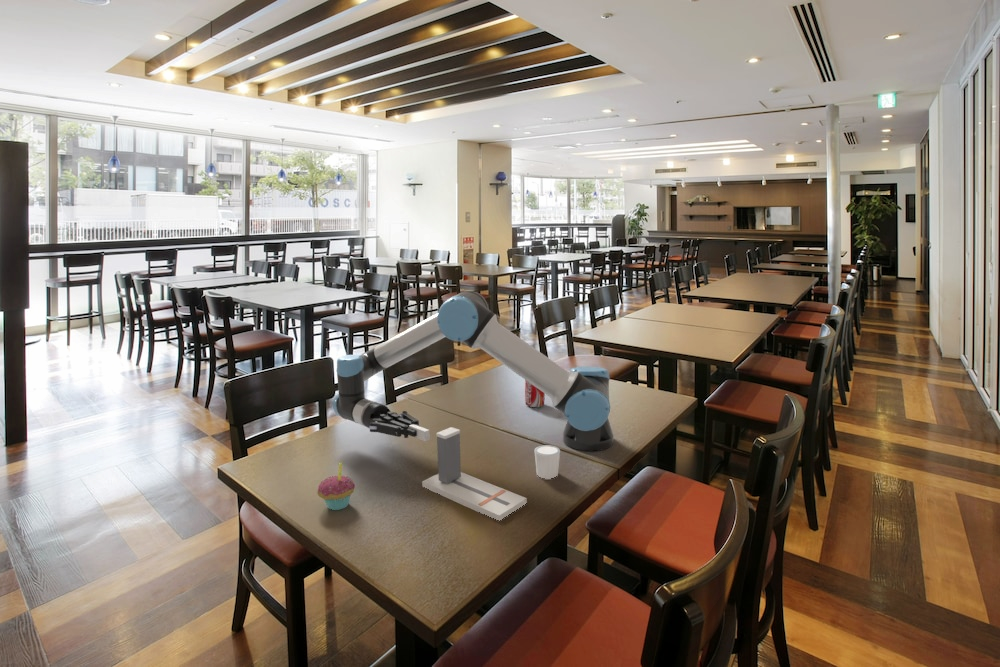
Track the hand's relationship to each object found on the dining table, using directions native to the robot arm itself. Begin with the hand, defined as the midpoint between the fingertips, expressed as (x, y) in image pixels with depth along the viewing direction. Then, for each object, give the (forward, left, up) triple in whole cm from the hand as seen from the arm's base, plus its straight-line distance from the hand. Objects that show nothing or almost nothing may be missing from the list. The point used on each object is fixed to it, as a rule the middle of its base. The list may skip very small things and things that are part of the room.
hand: (427, 435), depth 143 cm
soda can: (-21, -60, -12) cm, 65 cm away
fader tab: (-7, +4, -10) cm, 12 cm away
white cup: (-31, -6, -12) cm, 34 cm away
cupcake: (+17, +18, -12) cm, 27 cm away
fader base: (-14, +8, -12) cm, 20 cm away
